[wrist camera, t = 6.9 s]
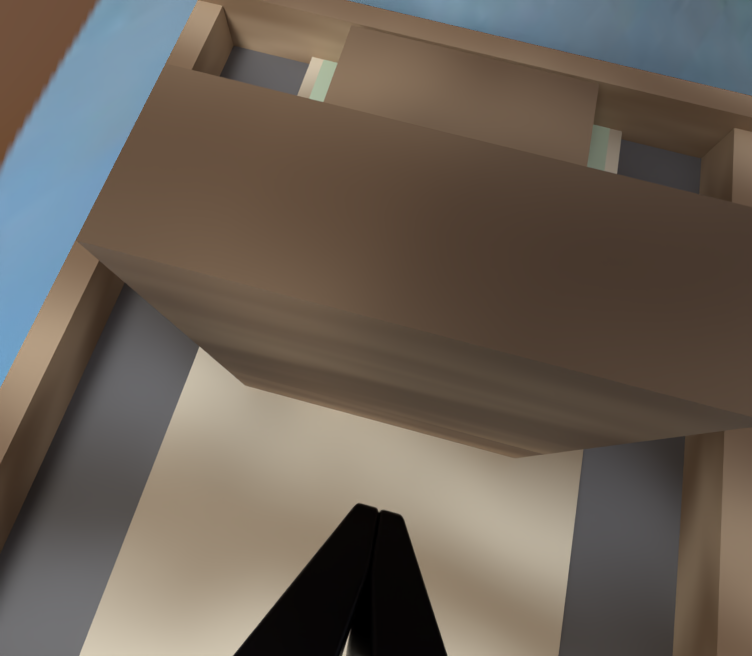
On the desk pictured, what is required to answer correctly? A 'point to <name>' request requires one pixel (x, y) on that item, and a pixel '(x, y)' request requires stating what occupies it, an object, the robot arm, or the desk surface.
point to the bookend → (433, 253)
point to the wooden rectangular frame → (357, 437)
